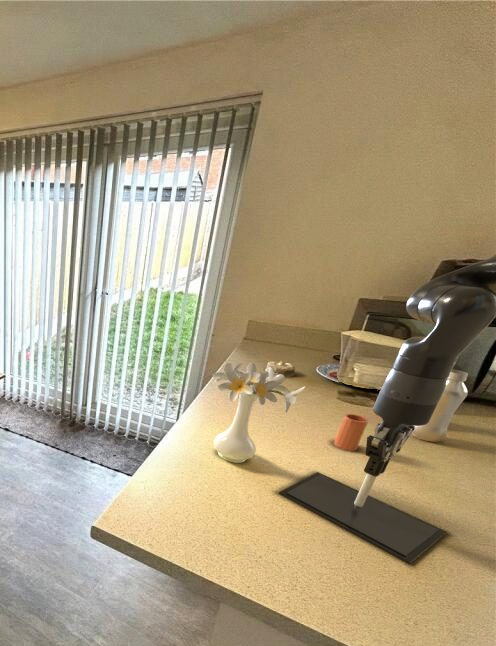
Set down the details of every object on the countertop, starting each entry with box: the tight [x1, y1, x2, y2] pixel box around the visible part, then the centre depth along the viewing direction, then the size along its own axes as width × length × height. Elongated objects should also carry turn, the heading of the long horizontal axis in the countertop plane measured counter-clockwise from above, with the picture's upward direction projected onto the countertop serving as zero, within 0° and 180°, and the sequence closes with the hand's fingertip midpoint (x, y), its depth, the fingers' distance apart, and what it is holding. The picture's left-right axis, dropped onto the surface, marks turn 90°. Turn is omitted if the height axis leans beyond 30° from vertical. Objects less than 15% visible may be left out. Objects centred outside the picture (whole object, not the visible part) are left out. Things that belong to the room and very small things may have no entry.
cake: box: [264, 360, 296, 378], centre depth 153 cm, size 10×10×5 cm
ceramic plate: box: [316, 363, 340, 383], centre depth 144 cm, size 26×26×3 cm
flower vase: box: [211, 362, 307, 464], centre depth 97 cm, size 13×18×25 cm
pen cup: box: [333, 413, 369, 452], centre depth 103 cm, size 5×5×9 cm
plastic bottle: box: [410, 369, 469, 443], centre depth 104 cm, size 6×7×20 cm
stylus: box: [354, 473, 377, 509], centre depth 79 cm, size 1×1×14 cm
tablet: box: [278, 471, 448, 565], centre depth 82 cm, size 22×16×1 cm
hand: (373, 472), depth 78 cm, fingers closed on stylus, 1 cm apart
